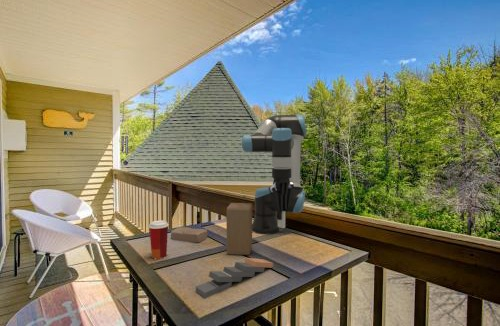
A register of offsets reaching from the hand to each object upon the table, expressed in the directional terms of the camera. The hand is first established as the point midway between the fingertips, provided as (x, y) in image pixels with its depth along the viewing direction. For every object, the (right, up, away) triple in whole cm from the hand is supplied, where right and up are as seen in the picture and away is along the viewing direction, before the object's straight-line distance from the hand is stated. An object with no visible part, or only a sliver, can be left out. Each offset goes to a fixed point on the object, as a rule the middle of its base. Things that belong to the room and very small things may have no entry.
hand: (281, 227), depth 103 cm
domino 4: (-9, -13, -9) cm, 18 cm away
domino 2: (-20, -13, -19) cm, 30 cm away
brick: (-43, -12, +25) cm, 51 cm away
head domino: (-6, -12, -5) cm, 15 cm away
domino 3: (-13, -13, -12) cm, 22 cm away
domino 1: (-17, -13, -16) cm, 26 cm away
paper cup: (-50, -13, +3) cm, 51 cm away
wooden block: (-17, -13, +9) cm, 23 cm away
